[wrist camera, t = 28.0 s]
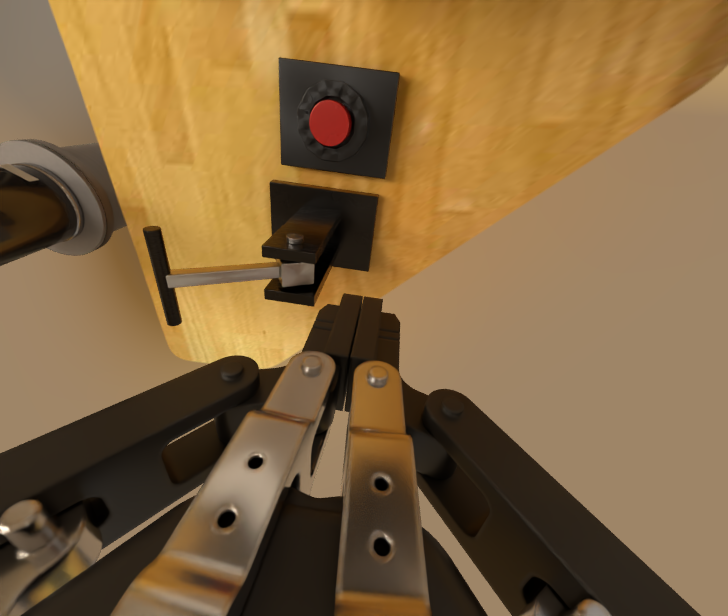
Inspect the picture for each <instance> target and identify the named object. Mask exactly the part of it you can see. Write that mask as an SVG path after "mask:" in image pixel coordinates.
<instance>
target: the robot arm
mask: <svg viewBox="0 0 728 616" xmlns="http://www.w3.org/2000/svg"><path fill="white" fill-rule="evenodd" d="M84 223H85V219H84V213H83V209H82V207H81V204H80V202H79V200H78V198H77V197H76V195H75V194H74V192H73V191H72V190H71V188H70V187H69V186H68V185H67V184H66V183H65V182H64V181H63V180H62V179H61V178H60V177H58V176H57V175H56V174H54V173H53V172H51V171H50V170H48V169H46V168H44V167H42V166H40V165H37V164H34V163H27V162H24V163H16V164H11V165H10V164H4V165H0V266H2V265H4V264H7V263H9V262H12V261H14V260H17V259H20V258H22V257H25V256H27V255H29V254H32V253H35V252H37V251H40V250H42V249H45V248H48V247H50V246H53V245H55V244H58V243H60V242H65V241H68V240H70V239H73V238H75V237H77V236H78V235H80V233H81V232H82V230H83V228H84ZM362 298H363V296H358V295H351V294H343V297H342V300H341V303H340V306H337V305H331V304H327V305H326V306H325V307H324V308H322V309H321V310H320V311H319V313H318V315H317V317H316V321H315V322H314V324H313V328H312V329H311V332H310V334H309V336H308V339H307V341H306V343H305V346H304V348H303V350H302V352H301V353H299V354H296V355H295V356H293V357H292V358H291V359H290V361H289V363H288V364H287V365H286V366H284V367H279V368H271V369H259V367H258V364H257V363H256V362H255V361H254V360H253V359H251V358H249V357H246V356H229V357H225V358H222V359H220V360H217V361H215V362H213V363H210V364H208V365H206V366H203V367H201V368H199V369H196V370H194V371H192V372H190V373H187V374H185V375H182V376H180V377H178V378H175V379H173V380H171V381H168V382H166V383H164V384H161V385H159V386H157V387H154V388H152V389H150V390H147V391H145V392H143V393H140V394H138V395H136V396H133V397H131V398H129V399H126V400H124V401H122V402H119V403H117V404H115V405H112V406H110V407H108V408H105V409H103V410H101V411H98V412H96V413H94V414H91V415H89V416H87V417H84V418H82V419H80V420H77V421H75V422H73V423H71V424H68V425H66V426H63V427H61V428H59V429H57V430H54V431H52V432H49V433H47V434H45V435H42V436H40V437H38V438H36V439H33V440H31V441H28V442H26V443H24V444H21V445H19V446H17V447H14V448H12V449H10V450H7V451H5V452H3V453H0V616H487V614H486V612H485V611H484V609H483V608H482V606H481V605H480V603H479V601H478V600H477V598H476V597H475V595H474V594H473V592H472V591H471V589H470V587H469V586H468V584H467V583H466V582H465V580H464V578H463V577H462V575H461V574H460V572H459V570H458V569H457V567H456V566H455V564H454V563H453V561H452V559H451V558H450V557H449V555H448V554H447V552H446V551H445V550H444V548H443V547H442V546H441V545H440V543H439V542H438V541H437V540H436V539H435V538H434V537H433V536H432V535H431V534H430V533H429V532H428V531H426V530H425V529H424V528H423V527H422V526H421V516H420V506H419V497H418V487H419V488H420V489H421V491H422V492H423V494H424V495H425V496H426V498H427V499H428V500H429V502H430V503H431V504H432V506H433V507H434V509H435V510H436V511H437V513H438V514H439V516H440V517H441V518H442V520H443V521H444V523H445V524H446V525H447V527H448V528H449V529H450V531H451V532H452V534H453V535H454V536H455V538H456V539H457V540H458V542H459V543H460V545H461V546H462V547H463V549H464V550H465V551H466V553H467V554H468V556H469V557H470V558H471V560H472V561H473V563H474V564H475V565H476V567H477V568H478V569H479V571H480V572H481V574H482V575H483V576H484V578H485V579H486V580H487V582H488V583H489V585H490V586H491V587H492V589H493V590H494V592H495V593H496V594H497V595H498V597H499V598H500V600H501V601H502V603H503V604H504V605H505V607H506V608H507V609H508V611H509V612H510V613H511V615H512V616H701V615H700V614H699V613H697V612H696V611H695V610H694V609H693V608H692V607H691V606H690V605H689V604H688V603H687V602H686V601H685V600H684V599H682V598H681V597H680V596H679V595H678V594H677V593H676V592H675V591H674V590H673V589H672V588H671V587H670V586H669V585H667V584H666V583H665V582H664V581H663V580H662V579H661V578H660V577H659V576H658V575H657V574H656V573H655V572H654V571H652V570H651V569H650V568H649V567H648V566H647V565H646V564H645V563H644V562H643V561H642V560H641V559H640V558H639V557H637V556H636V555H635V554H634V553H633V552H632V551H631V550H630V549H629V548H628V547H627V546H626V545H625V544H624V543H622V542H621V541H620V540H619V539H618V538H617V537H616V536H615V535H614V534H613V533H612V532H611V531H610V530H608V528H606V527H605V526H604V525H603V524H602V523H601V522H600V521H599V520H598V519H597V518H596V517H595V516H594V515H593V514H591V513H590V512H589V511H588V510H587V509H586V508H585V507H584V506H583V505H582V504H581V503H580V502H579V501H577V500H576V499H575V498H574V497H573V496H572V495H571V494H570V493H569V492H568V491H567V490H566V489H565V488H564V487H563V486H562V485H560V484H559V483H558V482H557V481H556V480H555V479H554V478H553V477H552V476H550V474H549V473H548V472H546V471H545V470H544V469H543V468H542V467H541V466H540V465H539V464H538V463H537V462H536V461H535V460H534V459H533V458H532V457H530V456H529V455H528V454H527V453H526V452H525V451H524V450H523V449H522V448H521V447H520V446H519V445H518V444H517V443H516V442H514V441H513V440H512V439H511V438H510V437H509V436H508V435H507V434H506V433H505V432H504V431H503V430H502V429H501V428H499V427H498V426H497V425H496V424H495V423H494V422H493V421H492V420H491V419H490V418H489V417H488V416H487V415H486V414H484V413H483V412H482V411H481V410H480V409H479V408H478V407H477V406H476V405H475V404H474V403H473V402H472V401H471V400H470V399H468V398H467V397H466V396H464V395H463V394H461V393H459V392H456V391H454V390H449V389H439V390H436V391H433V392H432V393H430V394H429V396H428V395H426V394H424V393H421V392H419V391H417V390H415V389H413V388H411V387H410V386H409V385H407V384H406V383H405V382H404V381H403V379H402V378H401V376H400V373H399V344H400V342H399V340H400V322H399V320H398V319H397V317H396V315H395V314H391V313H383V312H381V311H382V302H383V299H378V298H371V297H365V296H364V299H363V304H362ZM361 307H362V308H361ZM346 392H347V393H346ZM345 396H346V402H345V411H347V412H349V418H348V425H347V434H346V443H345V455H344V464H343V476H342V486H341V496H338V497H328V498H314V497H311V496H310V493H311V488H312V485H313V481H314V478H315V475H316V472H317V469H318V466H319V463H320V460H321V457H322V454H323V451H324V448H325V445H326V442H327V439H328V436H329V433H330V428H331V424H332V422H333V418H334V414H335V410H340V411H343V406H344V401H345ZM213 418H214V420H213V421H211V422H210V423H208V424H206V425H204V426H202V427H200V428H198V429H197V430H195V431H193V432H191V433H190V434H188V435H186V436H184V437H182V438H180V439H178V440H176V441H175V442H173V443H171V444H169V443H170V442H171V441H172V440H174V439H176V438H178V437H180V436H182V435H183V434H185V433H187V432H189V431H191V430H192V429H195V428H196V427H198V426H200V425H202V424H204V423H206V422H207V421H209V420H211V419H213ZM168 444H169V445H168ZM202 483H203V485H202V487H201V488H200V490H199V491H198V493H197V495H196V496H193V497H191V498H189V499H187V500H186V501H184V502H182V503H180V504H179V505H177V506H176V507H174V508H173V509H171V510H170V511H168V512H167V513H165V514H164V515H163V516H161V517H160V518H159V519H157V520H156V521H154V522H153V523H152V524H150V525H148V526H147V527H146V528H144V529H143V530H141V531H140V532H138V533H137V534H136V535H134V536H133V537H131V538H130V539H129V540H127V541H126V542H124V543H123V544H121V545H120V546H118V547H117V548H116V549H114V550H113V551H111V552H110V553H109V554H107V555H106V556H105V557H103V558H102V559H100V560H99V561H97V559H98V557H99V554H100V552H101V550H102V549H103V548H105V547H106V546H108V545H109V544H111V543H112V542H114V541H116V540H117V539H118V538H120V537H122V536H123V535H125V534H126V533H128V532H129V531H131V530H132V529H134V528H135V527H137V526H138V525H140V524H141V523H143V522H145V521H146V520H148V519H149V518H151V517H152V516H153V515H155V514H157V513H158V512H160V511H161V510H163V509H164V508H166V507H167V506H169V505H171V504H172V503H173V502H175V501H177V500H178V499H180V498H181V497H183V496H184V495H186V494H187V493H188V492H190V491H192V490H193V489H195V488H196V487H198V486H199V485H201V484H202ZM417 485H418V487H417ZM96 561H97V562H96Z"/></svg>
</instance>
